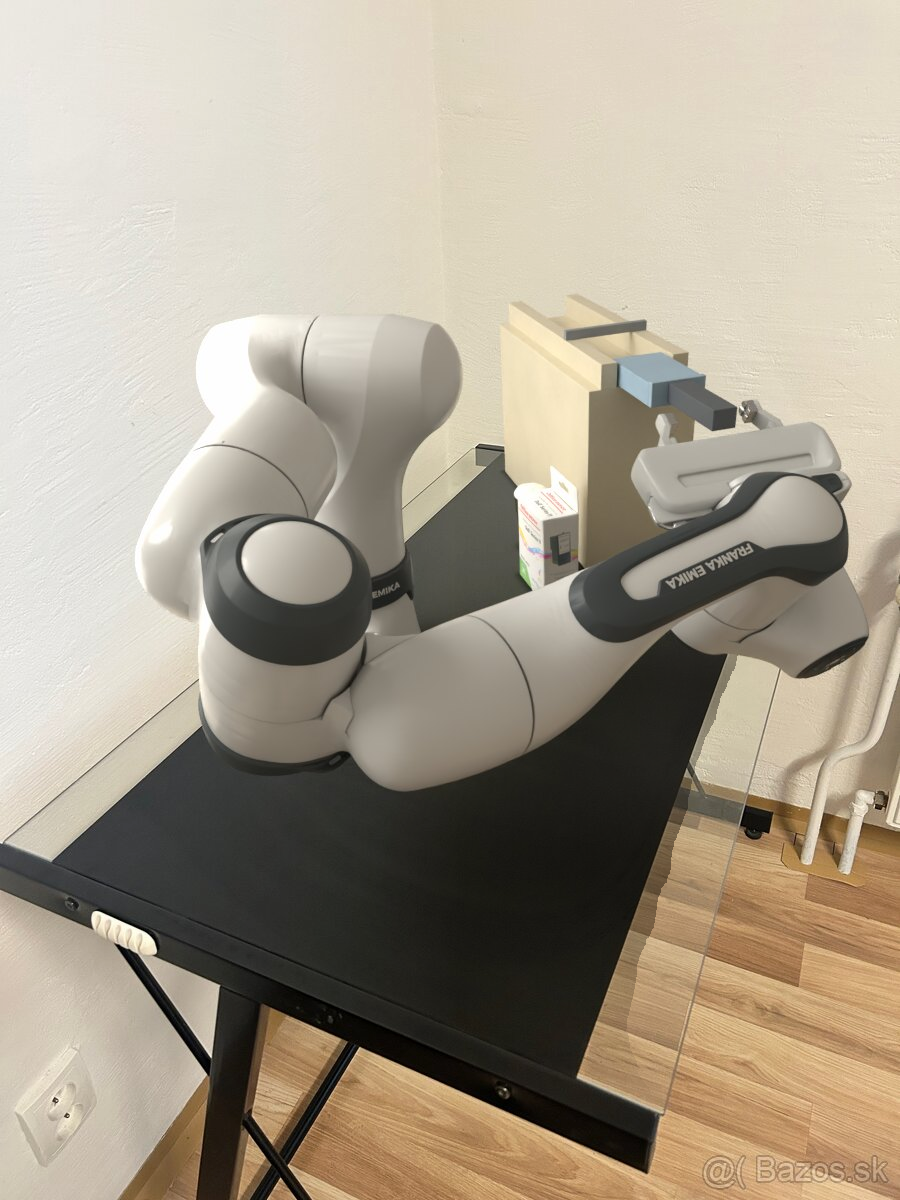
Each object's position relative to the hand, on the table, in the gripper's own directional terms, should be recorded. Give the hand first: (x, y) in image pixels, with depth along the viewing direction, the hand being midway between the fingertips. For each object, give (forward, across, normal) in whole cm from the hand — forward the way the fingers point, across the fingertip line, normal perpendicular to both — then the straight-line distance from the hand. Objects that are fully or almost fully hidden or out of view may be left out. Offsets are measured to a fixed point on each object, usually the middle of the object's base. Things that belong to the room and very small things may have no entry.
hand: (705, 410), depth 91 cm
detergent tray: (+5, 0, -4) cm, 7 cm away
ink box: (-2, -13, -28) cm, 31 cm away
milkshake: (+8, -11, -34) cm, 36 cm away
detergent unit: (+16, 0, -38) cm, 41 cm away
